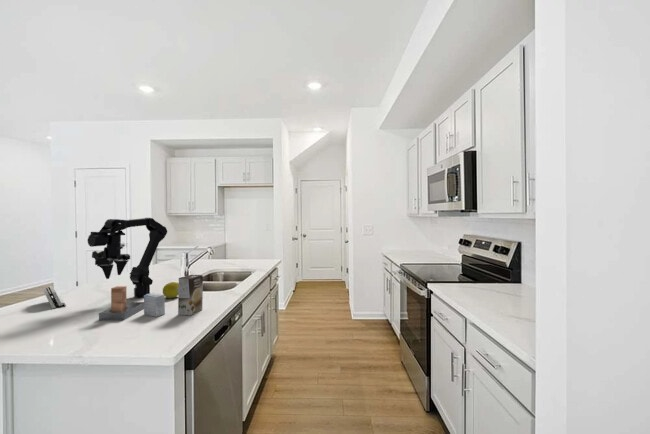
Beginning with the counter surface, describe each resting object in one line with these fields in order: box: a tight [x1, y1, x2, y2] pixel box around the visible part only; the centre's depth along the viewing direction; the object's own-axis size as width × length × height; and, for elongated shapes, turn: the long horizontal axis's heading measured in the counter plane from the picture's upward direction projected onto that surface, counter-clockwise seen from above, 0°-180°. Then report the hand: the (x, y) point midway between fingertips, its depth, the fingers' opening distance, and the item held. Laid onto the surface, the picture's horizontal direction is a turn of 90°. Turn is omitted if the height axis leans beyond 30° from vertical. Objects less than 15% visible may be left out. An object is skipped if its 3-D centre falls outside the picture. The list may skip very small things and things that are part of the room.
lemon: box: [162, 281, 179, 299], centre depth 166 cm, size 11×8×8 cm
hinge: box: [42, 285, 67, 310], centre depth 152 cm, size 17×5×10 cm, turn 45°
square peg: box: [110, 285, 127, 311], centre depth 135 cm, size 4×4×12 cm
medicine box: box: [143, 292, 166, 318], centre depth 138 cm, size 8×4×9 cm, turn 65°
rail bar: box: [98, 301, 144, 321], centre depth 138 cm, size 16×10×3 cm, turn 3°
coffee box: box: [177, 274, 204, 316], centre depth 142 cm, size 9×6×16 cm
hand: (113, 276), depth 154 cm, fingers open, 9 cm apart
